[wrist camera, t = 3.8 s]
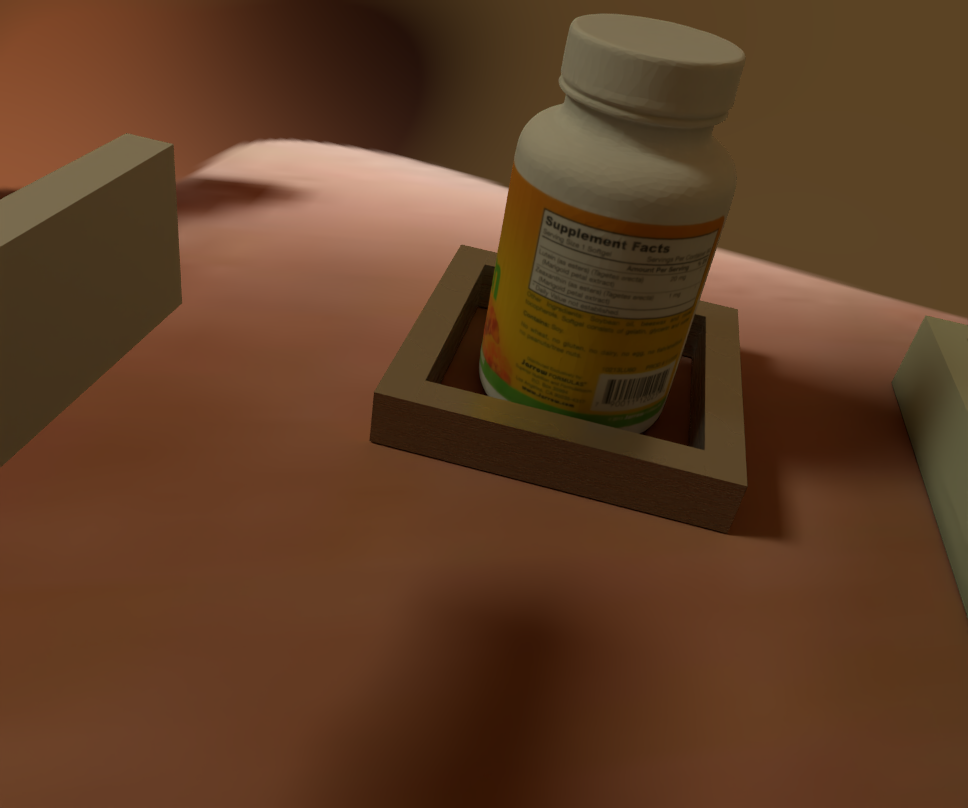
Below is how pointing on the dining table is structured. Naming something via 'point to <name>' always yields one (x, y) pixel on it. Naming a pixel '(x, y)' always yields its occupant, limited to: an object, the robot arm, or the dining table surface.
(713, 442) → the holder ring
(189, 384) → the dining table surface
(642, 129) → the supplement bottle
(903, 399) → the tray
